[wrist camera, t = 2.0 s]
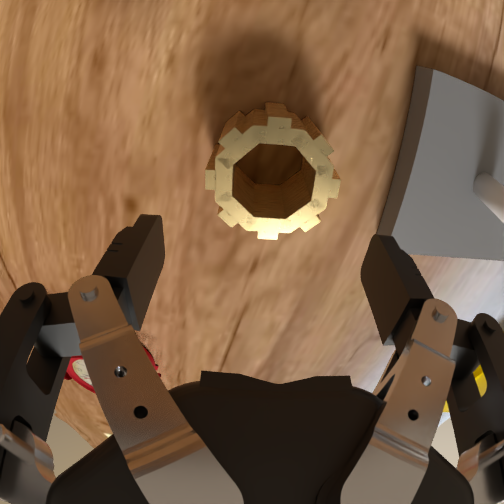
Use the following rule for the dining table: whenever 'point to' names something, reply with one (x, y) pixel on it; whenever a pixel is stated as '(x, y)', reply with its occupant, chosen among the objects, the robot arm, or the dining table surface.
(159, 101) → the dining table surface
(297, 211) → the brass gear
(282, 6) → the dining table surface
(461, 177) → the gear board
